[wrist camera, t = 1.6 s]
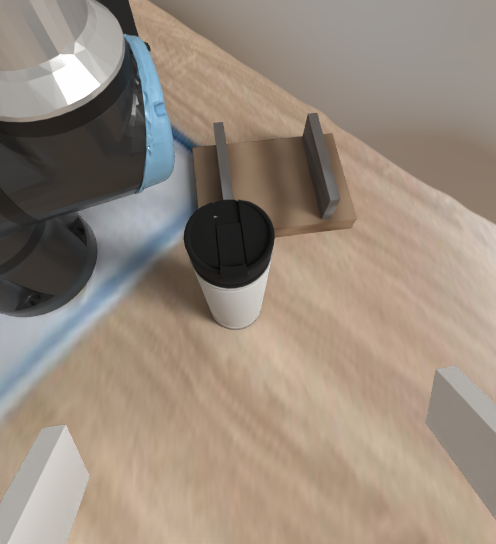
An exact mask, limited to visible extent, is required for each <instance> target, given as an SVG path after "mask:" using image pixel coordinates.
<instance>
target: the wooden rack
mask: <svg viewBox="0 0 496 544" xmlns="http://www.w3.org/2000/svg"><path fill="white" fill-rule="evenodd" d="M214 132H215V141H216V145H213V146H203V147H193V148H192V149H193V159H194V169H195V179H196V190H197V200H198V209H199V208H200V207H201V206H204V205H206V204H209V203H211V202H213V203H215V202H216V201H221V200H232V199H234V200H237V201H238V199H239V200H244V201H250V202H252V203H254V204H256V205H257V206H259V207H260V208H261V209H263V210H264V211H265V212H266V214H267V215H268V216H269V218H270V219H271V221H272V224H273V227H274V232H275V237H281V236H289V235H298V234H306V233H314V232H323V231H331V230H339V229H348V228H351V227H352V225H353V224H354V222H355V221H356V219H357V218H356V215H355V211H354V208H353V204H352V201H351V197H350V194H349V190H348V187H347V183H346V180H345V176H344V173H343V169H342V166H341V162H340V159H339V155H338V152H337V148H336V145H335V141H334V138H333V134H332V133H331V134H323V133H322V129H321V125H320V122H319V118H318V115H317V113H311V114H308V116H307V120H306V124H305V129H304V133H303V136H302V137H292V138H282V139H272V140H262V141H252V142H243V143H233V144H226V140H225V133H224V126H223V122H219V123H214Z"/></svg>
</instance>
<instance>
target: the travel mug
mask: <svg viewBox="0 0 496 544" xmlns="http://www.w3.org/2000/svg"><path fill="white" fill-rule="evenodd" d="M274 239H275V232H274V227H273V224H272V221H271V219H270V218H269V216H268V215H267V214H266V212H265V211H264V210H263V209H261V208H260V207H259V206H257V205H256V204H254V203H252V202H250V201H244V200H239V199H238V201H237V200H234V199H232V200H221V201H216V202H215V203H213V202H211V203H209V204H206V205H204V206H201V207H200V208H199V209H198V210H196V211H195V212H194V214H193V215H192V216H191V217H190V219H189V221H188V222H187V224H186V227H185V231H184V243H185V248H186V250H187V253H188V255H189V257H190V262H191V264H192V267H193V269H194V272H195V274H196V276H197V279H198V281H199V284H200V286H201V289H202V291H203V293H204V296H205V298H206V301H207V303H208V306H209V308H210V310H211V313H212V315H213V317H214V319H215V320H216V322H218V323H219V324H220V325H221V326H223V327H225V328H227V329H231V330H240V329H244V328H246V327H249V326H250V325H251V324H253V323H254V322H255V321H256V319H257V318H258V316H259V314H260V311H261V306H262V301H263V297H264V292H265V287H266V282H267V278H268V273H269V268H270V263H271V258H272V250H273V245H274Z"/></svg>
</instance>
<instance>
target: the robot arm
mask: <svg viewBox="0 0 496 544" xmlns="http://www.w3.org/2000/svg"><path fill="white" fill-rule="evenodd" d="M174 161H175V155H174V144H173V137H172V131H171V126H170V122H169V117H168V114H167V112H166V110H165V103H164V97H163V92H162V88H161V85H160V81H159V78H158V75H157V72H156V69H155V66H154V63H153V60H152V58H151V56H150V53H149V51H148V49H147V47H146V45H145V43H144V42H143V41H142V39H140V38H139V37H137V36H130V35H126V34H123V32H122V29H121V27H120V25H119V22H118V20H117V19H116V18H115V16H114V15H113V14H112V13H111V12H110V11H109V10H108V9H107V8H106V7H105V6H103V5H102V4H101V3H99V2H98V1H96V0H0V313H3V314H6V315H9V316H15V317H33V316H38V315H42V314H46V313H48V312H51V311H53V310H56V309H58V308H59V307H61V306H63V305H64V304H66V303H67V302H69V301H70V300H71V299H73V298H74V297H75V296H76V295H77V294H78V293H79V292H80V291H81V290H82V288H83V287H84V286H85V285H86V283H87V282H88V280H89V278H90V277H91V274H92V272H93V270H94V267H95V264H96V259H97V243H96V239H95V236H94V233H93V231H92V230H91V228H90V227H89V225H88V224H87V223H86V222H85V221H84V220H83V219H82V218H81V216H80V215H79V214H77V213H76V211H79V210H83V209H86V208H89V207H92V206H96V205H99V204H102V203H105V202H109V201H112V200H115V199H118V198H122V197H125V196H128V195H131V194H138V193H140V192H142V191H143V190H144V189H145V188H148V187H150V186H153V185H155V184H158V183H160V182H163V181H165V180H166V179H167V178H168V177H169V176H170V175H171V173H172V171H173V168H174ZM426 424H427V426H428V427H429V428H430V430H431V431H432V432H433V434H434V435H435V437H436V438H437V439H438V441H439V442H440V443H441V445H442V446H443V448H444V449H445V450H446V452H447V453H448V455H449V456H450V457H451V459H452V460H453V461H454V463H455V464H456V466H457V467H458V468H459V470H460V471H461V472H462V474H463V475H464V477H465V478H466V479H467V481H468V482H469V483H470V485H471V486H472V488H473V489H474V490H475V492H476V493H477V494H478V496H479V497H480V499H481V500H482V501H483V503H484V504H485V506H486V507H487V508H488V510H489V511H490V512H491V514H492V515H493V517H494V518H495V519H496V404H495V403H494V402H493V401H492V400H491V399H490V398H489V397H488V396H487V395H486V394H485V393H484V392H483V391H481V390H480V389H479V388H478V387H477V386H476V385H475V384H474V383H473V382H472V381H471V380H470V379H469V378H468V377H467V376H466V375H465V374H464V373H463V372H462V371H461V370H460V369H459V368H458V367H457V366H451V367H445V368H438V369H436V371H435V376H434V382H433V387H432V392H431V397H430V402H429V408H428V413H427V418H426ZM89 477H90V476H89V474H88V472H87V470H86V467H85V465H84V463H83V461H82V459H81V457H80V454H79V452H78V450H77V448H76V446H75V444H74V441H73V439H72V437H71V435H70V433H69V431H68V428H67V426H66V424H65V425H58V426H52V427H45V428H42V430H41V431H40V433H39V435H38V437H37V439H36V440H35V442H34V444H33V446H32V447H31V449H30V451H29V453H28V455H27V456H26V458H25V460H24V462H23V464H22V465H21V467H20V469H19V471H18V473H17V474H16V476H15V478H14V480H13V481H12V483H11V485H10V487H9V489H8V490H7V492H6V494H5V496H4V498H3V499H2V501H1V503H0V544H66V543H67V540H68V538H69V535H70V532H71V529H72V526H73V523H74V520H75V517H76V514H77V512H78V509H79V506H80V503H81V500H82V497H83V494H84V491H85V488H86V486H87V483H88V480H89Z"/></svg>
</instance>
